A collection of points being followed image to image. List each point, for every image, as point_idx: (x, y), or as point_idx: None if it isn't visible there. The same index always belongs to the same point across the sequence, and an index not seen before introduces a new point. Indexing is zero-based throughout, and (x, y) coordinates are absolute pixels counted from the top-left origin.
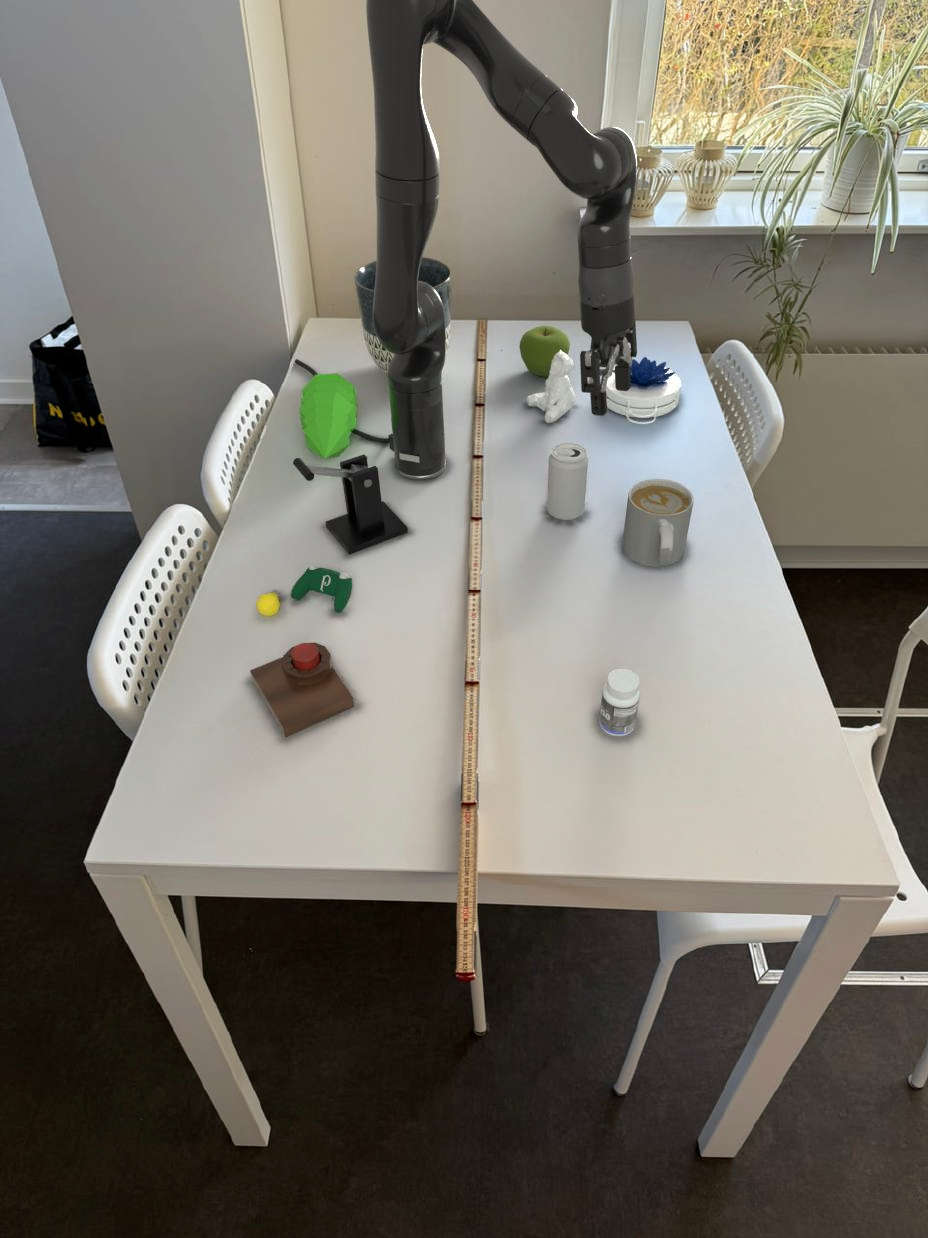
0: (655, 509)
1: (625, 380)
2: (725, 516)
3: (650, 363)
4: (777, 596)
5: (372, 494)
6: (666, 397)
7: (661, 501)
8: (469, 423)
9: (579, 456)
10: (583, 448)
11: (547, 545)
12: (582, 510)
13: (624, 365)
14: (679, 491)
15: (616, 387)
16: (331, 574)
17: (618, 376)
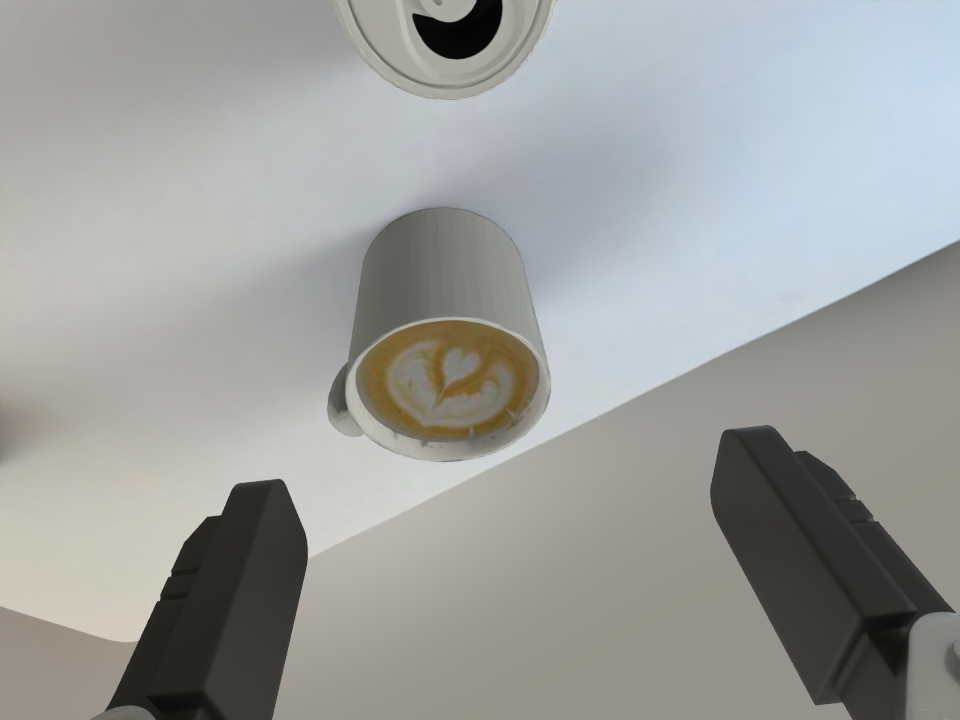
0: (405, 389)
1: (755, 560)
2: (653, 345)
3: None
4: (452, 483)
5: None
6: None
7: (454, 384)
8: None
9: (446, 67)
10: (532, 40)
11: (219, 10)
12: (444, 35)
13: (852, 707)
14: (533, 394)
15: (733, 441)
16: None
17: (785, 545)
